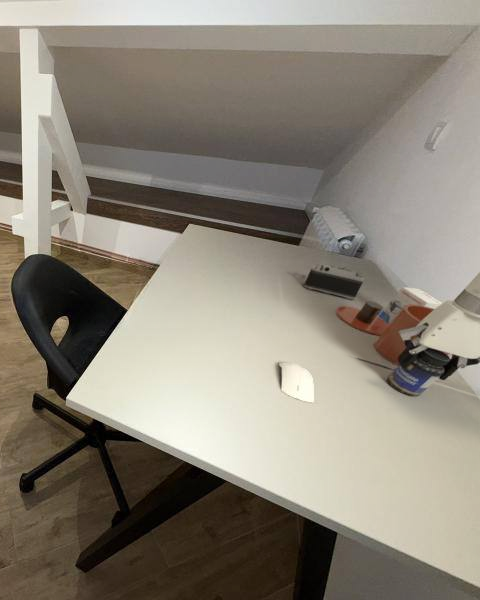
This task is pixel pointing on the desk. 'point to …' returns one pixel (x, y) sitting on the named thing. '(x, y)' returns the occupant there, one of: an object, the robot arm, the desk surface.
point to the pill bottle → (419, 372)
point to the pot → (390, 338)
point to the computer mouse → (297, 382)
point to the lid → (363, 318)
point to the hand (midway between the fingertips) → (420, 369)
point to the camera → (334, 281)
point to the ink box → (408, 302)
